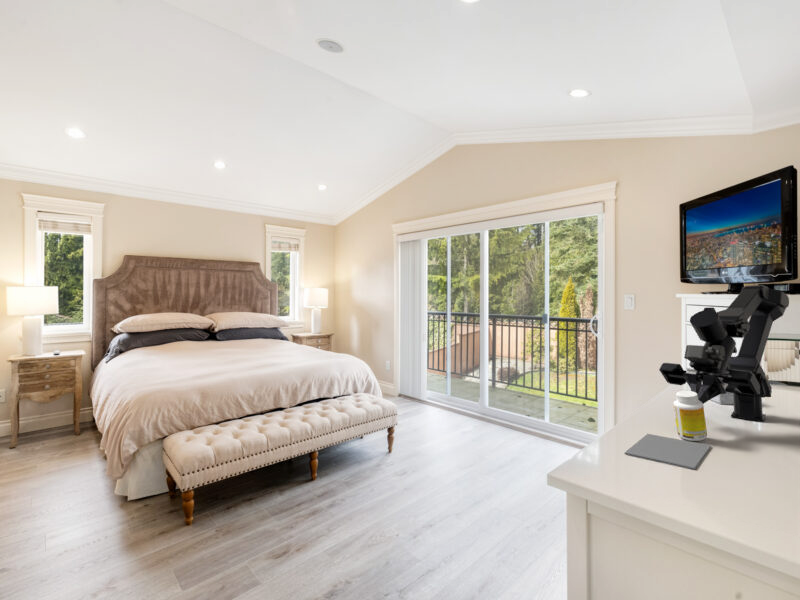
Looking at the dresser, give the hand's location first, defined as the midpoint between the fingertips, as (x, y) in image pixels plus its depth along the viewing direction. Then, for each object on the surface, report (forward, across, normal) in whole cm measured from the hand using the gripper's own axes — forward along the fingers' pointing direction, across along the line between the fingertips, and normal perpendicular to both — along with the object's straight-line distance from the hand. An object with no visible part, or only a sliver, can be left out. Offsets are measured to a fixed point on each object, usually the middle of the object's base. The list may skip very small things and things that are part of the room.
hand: (694, 406), depth 93 cm
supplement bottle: (+6, 0, +4) cm, 7 cm away
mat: (+15, +1, -4) cm, 15 cm away
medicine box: (-24, -12, +34) cm, 43 cm away
